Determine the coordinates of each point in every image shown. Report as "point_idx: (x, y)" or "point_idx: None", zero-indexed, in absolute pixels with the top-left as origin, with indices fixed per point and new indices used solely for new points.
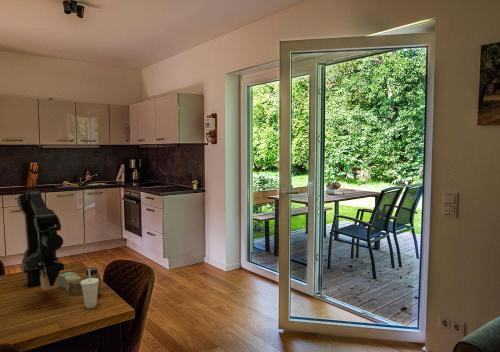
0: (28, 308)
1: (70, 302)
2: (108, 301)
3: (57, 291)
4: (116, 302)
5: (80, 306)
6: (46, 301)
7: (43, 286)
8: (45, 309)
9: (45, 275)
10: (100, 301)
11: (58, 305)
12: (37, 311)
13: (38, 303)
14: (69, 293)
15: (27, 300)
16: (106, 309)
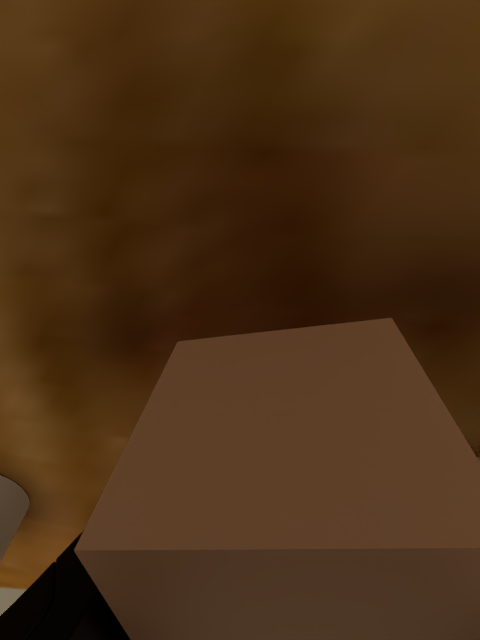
0: (150, 94)
1: (120, 428)
2: (39, 559)
3: (475, 400)
4: (10, 574)
5: (15, 456)
6: (257, 286)
7: (219, 366)
8: (45, 256)
9: (277, 607)
10: (56, 538)
11: (96, 355)
12: (20, 185)
13: (249, 211)
14: None
15: (458, 89)
16: None
